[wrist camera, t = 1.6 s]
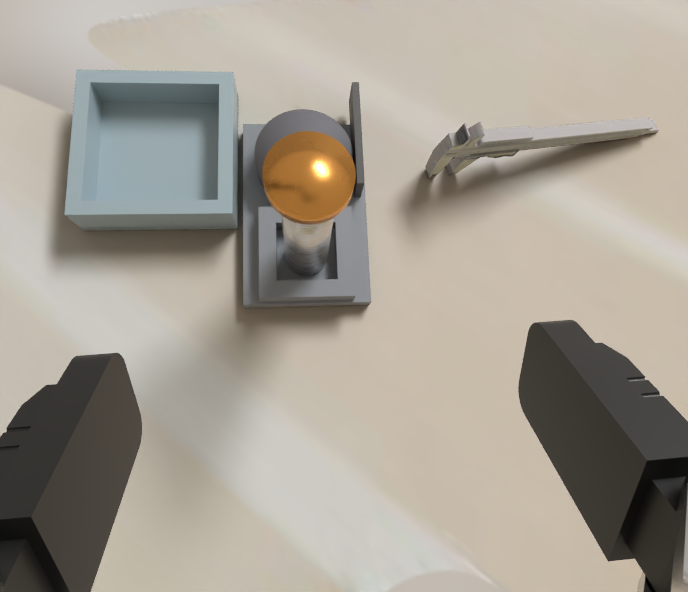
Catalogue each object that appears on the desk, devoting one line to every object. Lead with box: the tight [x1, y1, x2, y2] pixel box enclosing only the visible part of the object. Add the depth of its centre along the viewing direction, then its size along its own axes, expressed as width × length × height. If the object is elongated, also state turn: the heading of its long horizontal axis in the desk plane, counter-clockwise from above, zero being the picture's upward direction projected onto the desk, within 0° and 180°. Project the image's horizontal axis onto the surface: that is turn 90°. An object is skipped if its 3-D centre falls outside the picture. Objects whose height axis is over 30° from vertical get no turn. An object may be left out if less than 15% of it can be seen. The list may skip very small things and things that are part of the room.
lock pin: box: [262, 131, 356, 276], centre depth 30 cm, size 4×4×13 cm
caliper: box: [426, 117, 659, 178], centre depth 39 cm, size 20×1×6 cm, turn 105°
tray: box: [64, 70, 238, 231], centre depth 37 cm, size 11×11×3 cm
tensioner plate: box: [243, 82, 371, 308], centre depth 37 cm, size 9×16×4 cm, turn 2°
